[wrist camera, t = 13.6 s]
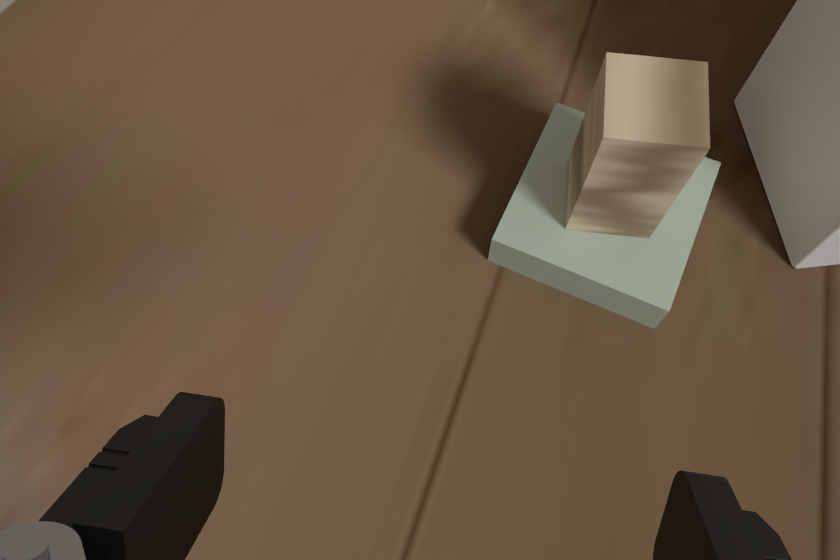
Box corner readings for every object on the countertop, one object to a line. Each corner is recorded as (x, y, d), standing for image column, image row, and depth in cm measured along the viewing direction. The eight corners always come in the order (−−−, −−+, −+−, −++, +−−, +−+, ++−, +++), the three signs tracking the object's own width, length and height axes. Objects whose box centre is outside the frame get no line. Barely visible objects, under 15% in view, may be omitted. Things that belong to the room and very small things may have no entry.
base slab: (486, 263, 47) (491, 239, 44) (547, 133, 51) (556, 102, 48) (651, 332, 45) (669, 311, 42) (701, 191, 49) (721, 162, 46)
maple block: (565, 229, 44) (603, 137, 35) (569, 157, 46) (606, 52, 36) (649, 238, 44) (710, 148, 34) (649, 166, 46) (707, 61, 36)
